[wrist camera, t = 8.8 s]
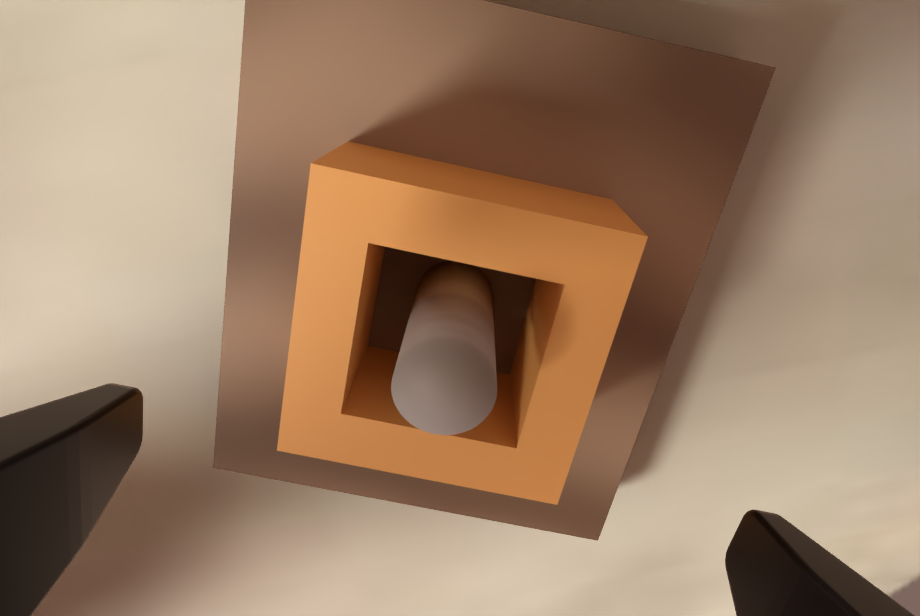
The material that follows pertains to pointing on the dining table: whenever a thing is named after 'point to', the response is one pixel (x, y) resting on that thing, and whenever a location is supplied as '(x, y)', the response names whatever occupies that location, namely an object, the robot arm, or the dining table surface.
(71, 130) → the dining table surface
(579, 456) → the brown peg board
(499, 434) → the orange square ring
